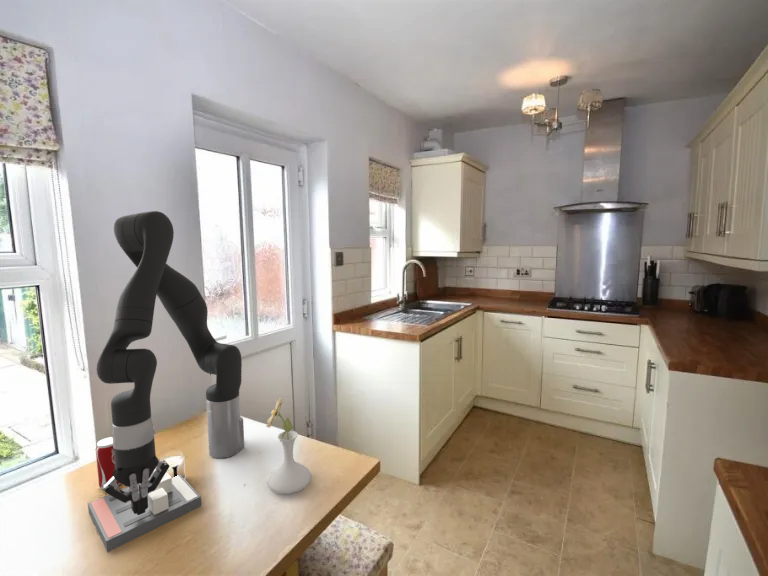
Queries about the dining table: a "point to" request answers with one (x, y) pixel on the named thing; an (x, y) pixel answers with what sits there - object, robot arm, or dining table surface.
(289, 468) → the flower in vase
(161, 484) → the block
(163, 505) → the block
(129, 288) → the robot arm
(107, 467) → the soda can
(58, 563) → the dining table surface
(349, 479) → the dining table surface
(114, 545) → the block
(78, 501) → the dining table surface
